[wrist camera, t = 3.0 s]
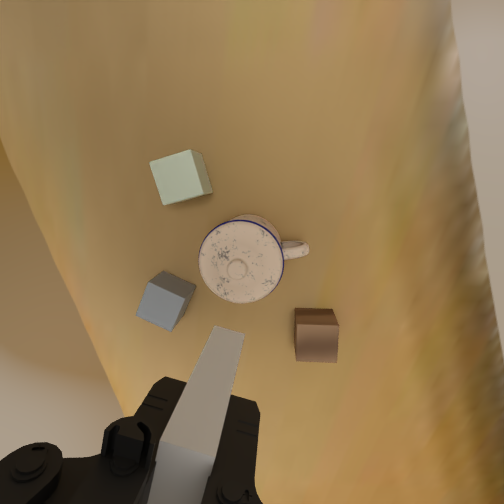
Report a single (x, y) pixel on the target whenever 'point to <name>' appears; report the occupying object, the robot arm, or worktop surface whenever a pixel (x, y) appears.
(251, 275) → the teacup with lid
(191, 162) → the sage block
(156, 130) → the worktop surface
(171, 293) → the slate block
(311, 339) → the walnut block
